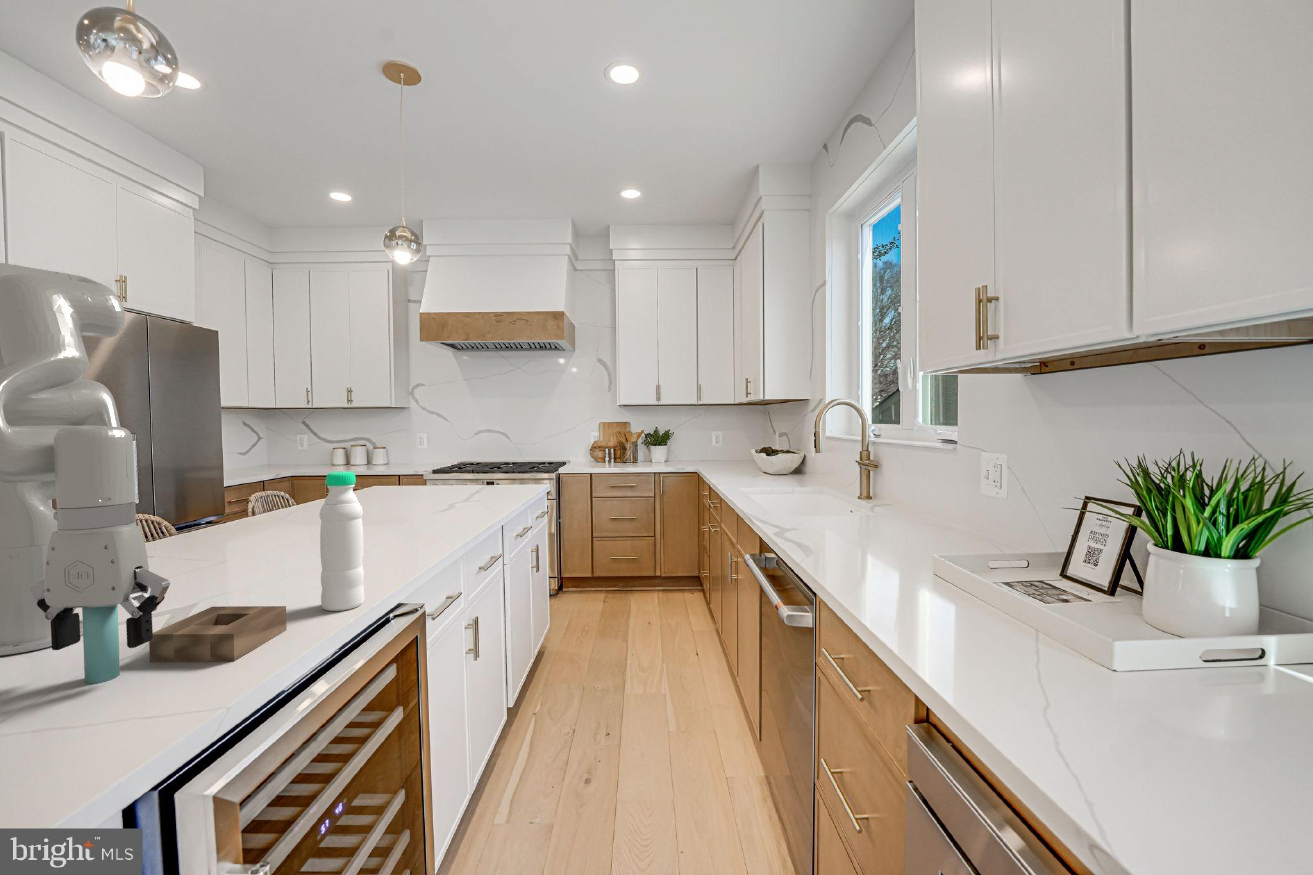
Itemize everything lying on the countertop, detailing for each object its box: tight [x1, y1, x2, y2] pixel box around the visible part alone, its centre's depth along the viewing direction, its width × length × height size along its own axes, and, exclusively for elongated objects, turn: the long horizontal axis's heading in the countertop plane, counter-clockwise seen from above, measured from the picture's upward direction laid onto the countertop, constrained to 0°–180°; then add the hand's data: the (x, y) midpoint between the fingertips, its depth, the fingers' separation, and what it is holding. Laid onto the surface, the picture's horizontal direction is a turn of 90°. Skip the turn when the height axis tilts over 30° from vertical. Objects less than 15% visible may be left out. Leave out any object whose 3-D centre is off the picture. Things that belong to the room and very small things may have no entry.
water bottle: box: [319, 471, 365, 612], centre depth 106 cm, size 7×7×25 cm
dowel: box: [81, 604, 121, 685], centre depth 77 cm, size 3×3×11 cm
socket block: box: [148, 605, 287, 663], centre depth 88 cm, size 12×12×4 cm
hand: (103, 645), depth 76 cm, fingers open, 9 cm apart
